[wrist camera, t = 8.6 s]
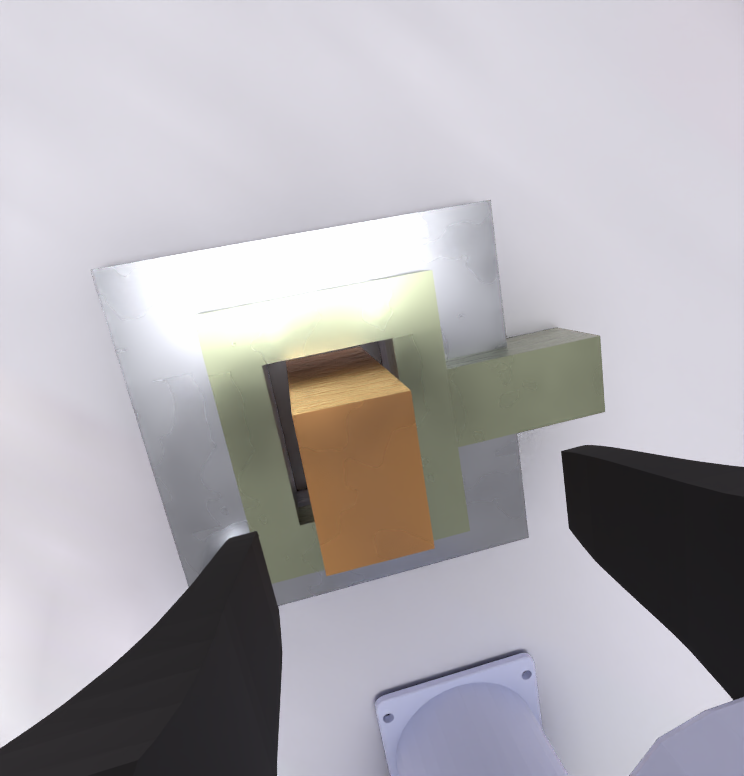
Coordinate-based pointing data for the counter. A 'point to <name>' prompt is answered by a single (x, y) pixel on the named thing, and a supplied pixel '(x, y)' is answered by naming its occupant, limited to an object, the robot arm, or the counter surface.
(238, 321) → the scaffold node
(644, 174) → the counter surface
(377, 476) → the wooden rectangular peg
